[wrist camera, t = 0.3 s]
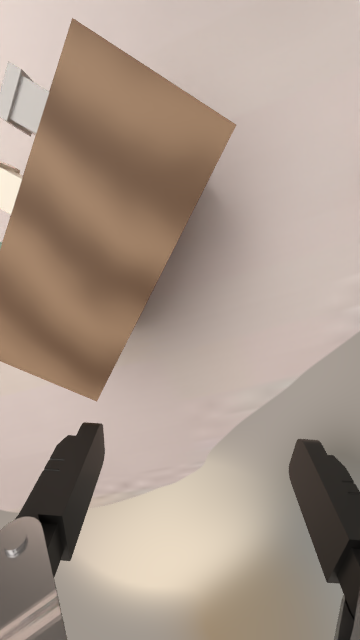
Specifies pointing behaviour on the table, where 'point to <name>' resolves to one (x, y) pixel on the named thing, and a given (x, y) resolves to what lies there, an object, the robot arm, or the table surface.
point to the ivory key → (9, 186)
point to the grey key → (21, 100)
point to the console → (99, 210)
